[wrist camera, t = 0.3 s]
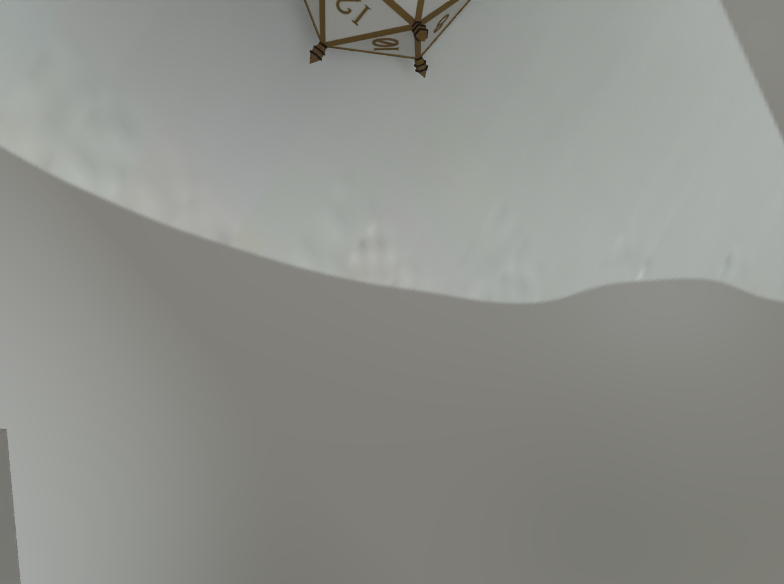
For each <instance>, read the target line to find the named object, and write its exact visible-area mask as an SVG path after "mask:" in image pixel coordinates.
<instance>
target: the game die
mask: <svg viewBox="0 0 784 584" xmlns="http://www.w3.org/2000/svg"><path fill="white" fill-rule="evenodd" d="M469 1H470V0H304V2H305V4H306V7H307V9H308V12H309V14H310V17H311V20H312V22H313V25H314V27H315V30H316V32H317V35H318V38H319V40H320V42H319V44H318V45H316V46H315V45H314V48H313V50H312V51H311V50H310V53H311V54H310V64H311V63H314V62H316V61H319V60H321V61H322V59H321V58H322V57H323V55H324V56H325V54H324V53H325V50H326V48H327V47H329V48H336V49H344V50H351V51H359V52H366V53H374V54H381V55H388V56H396V57H403V58H411V59H414V60H415V64H414V66H415V67H416V70H415V71H416V72H419V73H420V74H421V75H422V76H423V77H425V75H426V70H427V68H428V65H426V60H424V59H423V58H422V56H423V54H424V53H425V52H426V51H427V50H428V49H429V48H430V46H431V45H432V44H433V43H434V42H435V41H436V39H437V38H438V37H439V36H440V35H441V34H442V33H443V31H444V30H445V29H446V28H447V27H448V26H449V25H450V23H451V22H452V21H453V20H454V19H455V18H456V16H457V15H458V14H459V13H460V12H461V11H462V10H463V8H464V7H465V6H466V5H467V4H468V3H469Z"/></svg>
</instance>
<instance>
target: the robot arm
mask: <svg viewBox="0 0 784 584" xmlns="http://www.w3.org/2000/svg"><path fill="white" fill-rule="evenodd" d="M10 474H11V473H10V462H9V451H8V440H7V429H0V584H21V583H20V572H19V561H18V550H17V539H16V528H15V517H14V507H13V495H12V485H11V475H10Z"/></svg>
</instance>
